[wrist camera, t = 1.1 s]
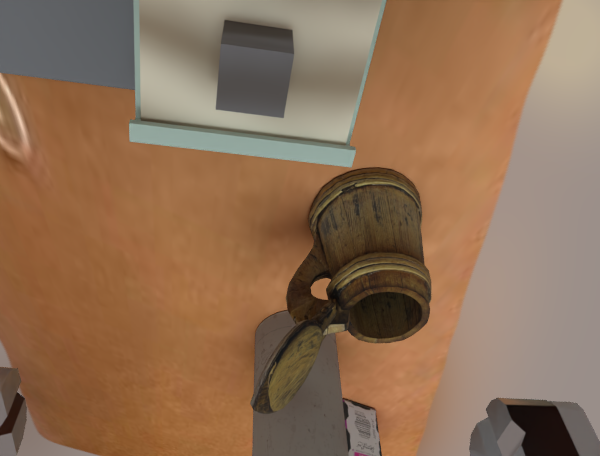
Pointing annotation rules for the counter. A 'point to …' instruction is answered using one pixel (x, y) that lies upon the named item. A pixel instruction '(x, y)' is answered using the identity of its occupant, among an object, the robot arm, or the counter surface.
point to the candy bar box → (361, 430)
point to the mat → (69, 40)
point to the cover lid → (255, 65)
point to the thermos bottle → (301, 401)
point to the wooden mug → (352, 277)
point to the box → (241, 141)
